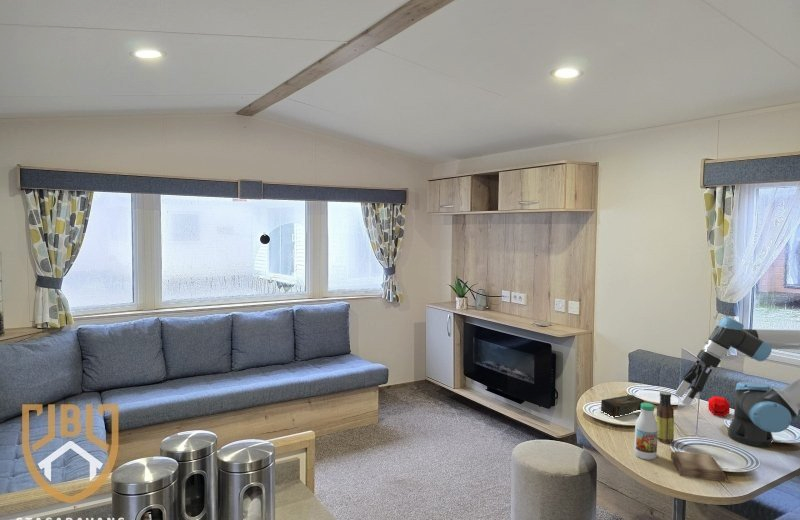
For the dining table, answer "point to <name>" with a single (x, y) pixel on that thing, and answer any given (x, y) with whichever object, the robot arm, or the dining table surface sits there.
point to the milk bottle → (646, 433)
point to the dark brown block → (621, 405)
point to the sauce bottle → (665, 418)
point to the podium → (697, 466)
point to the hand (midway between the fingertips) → (681, 399)
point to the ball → (718, 406)
